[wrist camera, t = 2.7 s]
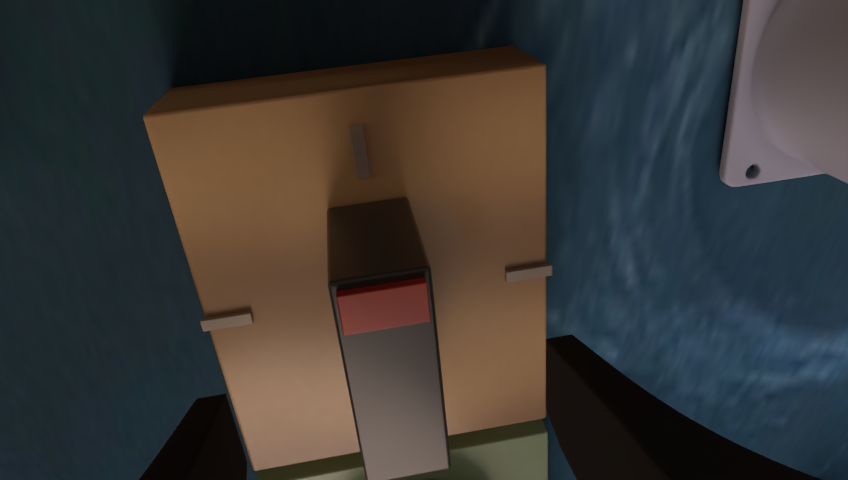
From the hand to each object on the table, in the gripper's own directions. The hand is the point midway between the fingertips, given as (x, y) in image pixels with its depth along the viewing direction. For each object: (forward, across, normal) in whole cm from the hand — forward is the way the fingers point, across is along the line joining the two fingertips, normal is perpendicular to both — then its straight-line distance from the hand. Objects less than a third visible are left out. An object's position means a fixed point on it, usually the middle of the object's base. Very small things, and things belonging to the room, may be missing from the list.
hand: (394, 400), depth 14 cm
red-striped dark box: (+4, 0, 0) cm, 4 cm away
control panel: (+8, 0, 0) cm, 8 cm away
